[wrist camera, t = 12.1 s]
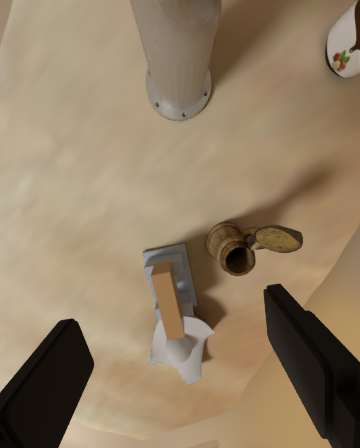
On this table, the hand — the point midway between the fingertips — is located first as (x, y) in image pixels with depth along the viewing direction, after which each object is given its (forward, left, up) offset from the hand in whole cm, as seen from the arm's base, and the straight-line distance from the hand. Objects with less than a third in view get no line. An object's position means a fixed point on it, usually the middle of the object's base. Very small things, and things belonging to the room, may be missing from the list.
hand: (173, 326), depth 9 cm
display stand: (+15, -5, -34) cm, 37 cm away
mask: (+32, -6, -34) cm, 47 cm away
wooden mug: (+7, +11, -34) cm, 37 cm away
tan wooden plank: (+15, -5, -28) cm, 32 cm away
